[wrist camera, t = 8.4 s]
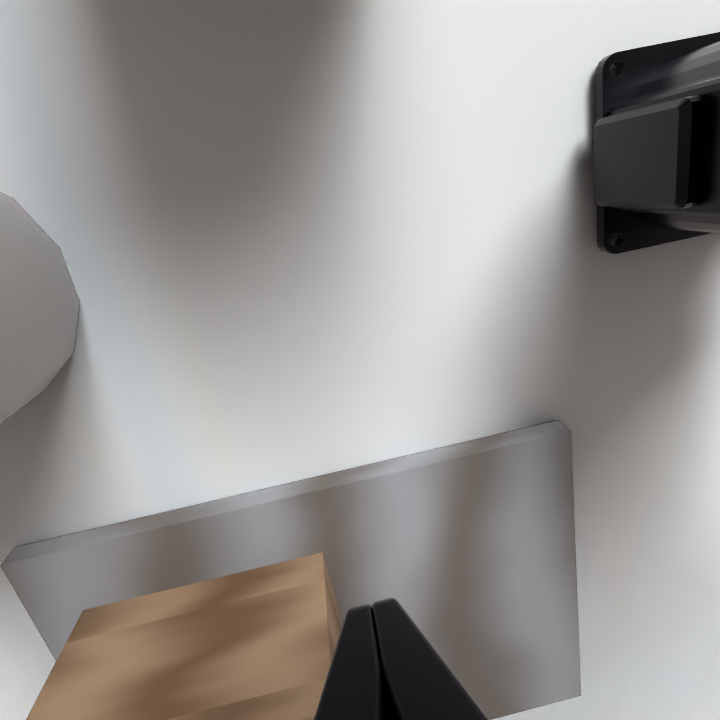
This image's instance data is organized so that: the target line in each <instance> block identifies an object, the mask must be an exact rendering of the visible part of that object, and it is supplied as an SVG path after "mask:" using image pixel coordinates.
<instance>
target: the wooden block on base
mask: <svg viewBox="0 0 720 720" xmlns="http://www.w3.org/2000/svg"><path fill="white" fill-rule="evenodd" d="M0 566H1V567H2V569H3V571H4V573H5V574H6V576H7V578H8V579H9V581H10V583H11V585H12V586H13V588H14V590H15V591H16V593H17V595H18V597H19V598H20V600H21V602H22V603H23V605H24V607H25V609H26V610H27V612H28V614H29V615H30V617H31V619H32V621H33V622H34V624H35V626H36V627H37V629H38V631H39V633H40V634H41V636H42V638H43V639H44V641H45V643H46V645H47V646H48V648H49V650H50V651H51V653H52V655H53V657H54V658H55V660H56V663H55V665H54V667H53V669H52V671H51V673H50V675H49V677H48V678H47V680H46V682H45V684H44V686H43V688H42V690H41V692H40V694H39V696H38V698H37V700H36V702H35V703H34V705H33V707H32V709H31V711H30V713H29V715H28V717H27V719H26V720H314V717H315V714H316V710H317V707H318V704H319V700H320V697H321V694H322V691H323V687H324V684H325V681H326V677H327V674H328V671H329V668H330V664H331V661H332V658H333V654H334V651H335V648H336V645H337V641H338V638H339V635H340V631H341V628H342V625H343V622H344V618H345V615H346V612H347V610H348V609H349V608H351V607H355V606H359V605H363V604H370V605H371V606H372V604H373V603H374V602H376V601H379V600H384V599H388V598H395V599H396V600H397V601H398V602H399V604H400V605H401V606H402V607H403V609H404V610H405V611H406V613H407V614H408V615H409V617H410V618H411V619H412V621H413V622H414V623H415V625H416V626H417V627H418V628H419V630H420V631H421V632H422V634H423V635H424V636H425V638H426V639H427V640H428V642H429V643H430V644H431V645H432V647H433V648H434V649H435V651H436V652H437V653H438V655H439V656H440V657H441V659H442V660H443V661H444V662H445V664H446V665H447V666H448V668H449V669H450V670H451V672H452V673H453V674H454V676H455V677H456V678H457V679H458V681H459V682H460V683H461V685H462V686H463V687H464V689H465V690H466V691H467V693H468V694H469V695H470V697H471V698H472V699H473V700H474V702H475V703H476V704H477V706H478V707H479V708H480V710H481V711H482V712H483V714H484V715H485V716H486V717H487V719H488V720H491V719H495V718H498V717H502V716H506V715H510V714H514V713H517V712H521V711H525V710H529V709H532V708H536V707H540V706H544V705H548V704H551V703H555V702H559V701H563V700H566V699H570V698H574V697H578V696H581V681H580V656H579V630H578V604H577V578H576V552H575V527H574V501H573V475H572V449H571V431H570V430H569V429H568V428H567V427H566V426H564V425H563V424H562V423H561V422H560V421H559V420H556V421H552V422H548V423H544V424H539V425H535V426H531V427H527V428H522V429H518V430H514V431H509V432H505V433H501V434H497V435H492V436H488V437H484V438H480V439H475V440H471V441H467V442H462V443H458V444H454V445H450V446H445V447H441V448H437V449H432V450H428V451H424V452H420V453H415V454H411V455H407V456H403V457H398V458H394V459H390V460H385V461H381V462H377V463H373V464H368V465H364V466H360V467H356V468H351V469H347V470H343V471H338V472H334V473H330V474H326V475H321V476H317V477H313V478H309V479H304V480H300V481H296V482H291V483H287V484H283V485H279V486H274V487H270V488H266V489H262V490H257V491H253V492H249V493H244V494H240V495H236V496H232V497H227V498H223V499H219V500H214V501H210V502H206V503H202V504H197V505H193V506H189V507H185V508H180V509H176V510H172V511H167V512H163V513H159V514H155V515H150V516H146V517H142V518H138V519H133V520H129V521H125V522H120V523H116V524H112V525H108V526H103V527H99V528H95V529H91V530H86V531H82V532H78V533H73V534H69V535H65V536H61V537H56V538H52V539H48V540H44V541H39V542H35V543H31V544H26V545H22V546H18V547H15V548H14V549H13V550H12V551H11V553H10V554H9V555H8V556H7V558H6V559H5V560H4V561H3V563H2V564H1V565H0Z"/></svg>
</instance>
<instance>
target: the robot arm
mask: <svg viewBox="0 0 720 720" xmlns="http://www.w3.org/2000/svg"><path fill="white" fill-rule="evenodd" d="M612 64H613V65H614V66H615V67H616V70H617V73H616V76H615V78H612V77H611V76H610V72H609V71H610V66H611V65H612ZM595 102H596V124H595V126H594V128H593V162H594V200H595V202H596V203H597V242H598V247H599V248H600V249H601V250H602V251H604V252H606V253H611V254H617V253H622V252H627V251H631V250H636V249H640V248H645V247H650V246H654V245H659V244H663V243H668V242H673V241H677V240H682V239H686V238H691V237H696V236H700V235H705V234H709V233H720V32H718V33H713V34H708V35H703V36H698V37H692V38H687V39H682V40H677V41H672V42H667V43H662V44H657V45H651V46H646V47H641V48H636V49H631V50H626V51H621V52H616V53H614V54H612V55H609V56H607V57H605V58H603V59H602V60H601V61H600V62H599V64H598V66H597V68H596V73H595ZM614 234H616V236H617V239H616V242H615V243H614V244H613V245H611V243H610V240H611V237H612V236H613V235H614ZM314 720H488V719H487V717H486V716H485V715H484V714H483V712H482V711H481V710H480V708H479V707H478V706H477V704H476V703H475V702H474V700H473V699H472V698H471V697H470V695H469V694H468V693H467V691H466V690H465V689H464V687H463V686H462V685H461V683H460V682H459V681H458V679H457V678H456V677H455V676H454V674H453V673H452V672H451V670H450V669H449V668H448V666H447V665H446V664H445V662H444V661H443V660H442V659H441V657H440V656H439V655H438V653H437V652H436V651H435V649H434V648H433V647H432V645H431V644H430V643H429V642H428V640H427V639H426V638H425V636H424V635H423V634H422V632H421V631H420V630H419V628H418V627H417V626H416V625H415V623H414V622H413V621H412V619H411V618H410V617H409V615H408V614H407V613H406V611H405V610H404V609H403V607H402V606H401V605H400V604H399V602H398V601H397V600H396V599H395V598H388V599H384V600H379V601H376V602H374V603H373V604H372V606H371V605H370V604H363V605H359V606H355V607H351V608H349V609H348V610H347V612H346V615H345V618H344V622H343V625H342V628H341V631H340V635H339V638H338V641H337V645H336V648H335V651H334V654H333V658H332V661H331V664H330V668H329V671H328V674H327V677H326V681H325V684H324V687H323V691H322V694H321V697H320V700H319V704H318V707H317V710H316V714H315V717H314Z"/></svg>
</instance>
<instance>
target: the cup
mask: <svg viewBox="0 0 720 720" xmlns="http://www.w3.org/2000/svg"><path fill="white" fill-rule="evenodd" d="M79 307H80V301H79V298H78V295H77V293H76V290H75V287H74V285H73V282H72V279H71V277H70V274H69V271H68V269H67V266H66V263H65V261H64V258H63V255H62V253H61V250H60V247H59V246H58V245H57V244H56V243H55V242H54V241H53V240H52V239H51V238H50V237H49V236H48V235H47V234H46V233H45V231H44V230H43V229H42V228H41V227H40V226H39V225H38V224H37V223H36V222H35V221H34V220H33V219H32V218H31V217H30V216H29V214H28V213H27V212H26V211H25V210H24V209H23V208H22V207H21V206H20V205H19V204H18V203H17V202H16V201H15V200H14V199H13V198H11V197H9V196H7V195H5V194H3V193H1V192H0V424H1V423H3V422H4V421H5V420H6V419H8V418H9V417H10V416H12V415H13V414H14V413H16V412H17V411H18V410H19V409H21V408H22V407H23V406H25V405H26V404H27V403H29V402H30V401H31V400H32V399H34V398H35V397H36V396H38V395H39V394H40V393H42V392H43V391H44V390H45V389H46V388H47V387H48V385H49V384H50V383H51V381H52V380H53V379H54V378H55V376H56V375H57V374H58V372H59V371H60V370H61V369H62V367H63V366H64V365H65V363H66V362H67V361H68V359H69V358H70V357H71V356H72V354H73V353H74V349H75V341H76V332H77V324H78V315H79Z"/></svg>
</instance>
